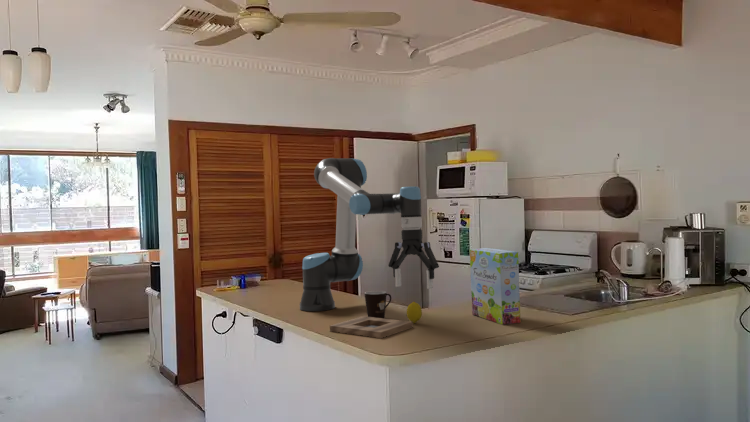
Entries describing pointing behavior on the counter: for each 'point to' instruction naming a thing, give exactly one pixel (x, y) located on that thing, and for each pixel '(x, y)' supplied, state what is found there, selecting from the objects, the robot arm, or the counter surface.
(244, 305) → the counter surface
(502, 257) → the snack box
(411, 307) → the lemon
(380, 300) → the coffee mug
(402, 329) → the pocket board
